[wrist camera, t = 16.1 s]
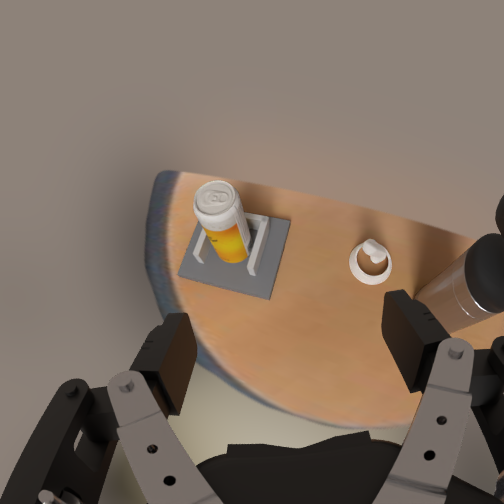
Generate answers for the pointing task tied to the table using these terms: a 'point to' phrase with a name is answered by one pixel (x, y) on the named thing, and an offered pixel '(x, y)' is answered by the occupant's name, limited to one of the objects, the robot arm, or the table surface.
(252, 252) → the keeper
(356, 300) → the table surface
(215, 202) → the beer can
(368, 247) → the hook
